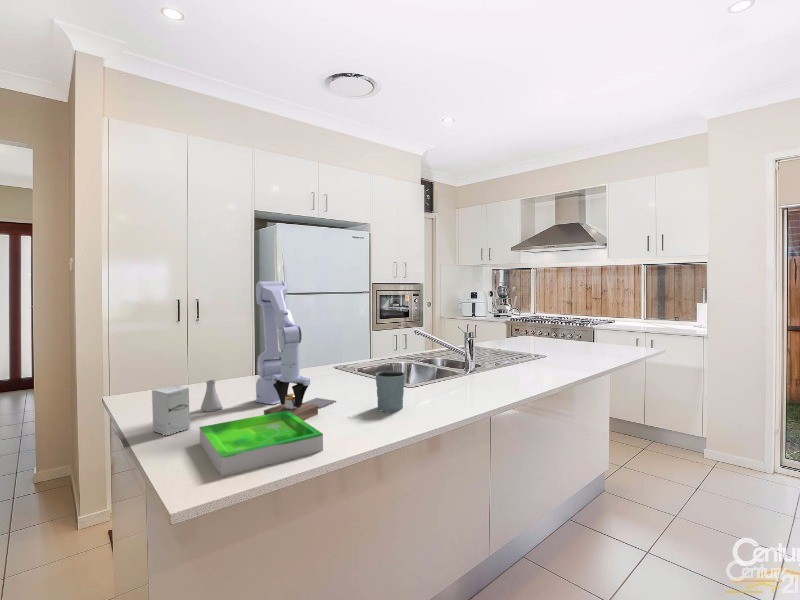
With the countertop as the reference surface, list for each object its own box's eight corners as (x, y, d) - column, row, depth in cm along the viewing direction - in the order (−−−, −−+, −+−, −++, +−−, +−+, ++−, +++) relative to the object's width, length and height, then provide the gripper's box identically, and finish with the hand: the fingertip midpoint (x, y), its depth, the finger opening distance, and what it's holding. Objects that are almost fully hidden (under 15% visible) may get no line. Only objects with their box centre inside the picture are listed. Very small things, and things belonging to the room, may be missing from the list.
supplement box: (166, 436, 124) (165, 393, 123) (152, 432, 128) (150, 389, 127) (190, 429, 130) (189, 387, 129) (176, 425, 134) (175, 384, 133)
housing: (264, 419, 138) (263, 410, 138) (290, 409, 149) (290, 400, 149) (292, 425, 132) (292, 415, 132) (317, 414, 143) (317, 405, 143)
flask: (226, 408, 150) (225, 380, 150) (205, 413, 145) (204, 384, 145) (217, 405, 155) (216, 377, 155) (196, 409, 150) (195, 381, 149)
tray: (200, 445, 119) (199, 427, 118) (288, 426, 133) (287, 410, 133) (221, 478, 98) (221, 456, 98) (323, 452, 113) (322, 433, 112)
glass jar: (282, 417, 140) (282, 396, 139) (291, 414, 143) (290, 393, 143) (291, 419, 138) (291, 397, 138) (300, 416, 141) (300, 394, 141)
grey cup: (370, 408, 149) (369, 373, 149) (390, 402, 156) (390, 369, 156) (391, 414, 142) (390, 378, 142) (411, 407, 150) (411, 373, 149)
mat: (300, 405, 154) (300, 404, 154) (316, 398, 162) (316, 397, 162) (320, 408, 150) (320, 407, 149) (336, 401, 157) (336, 400, 157)
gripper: (264, 363, 140) (265, 405, 140) (299, 367, 133) (300, 411, 133) (280, 360, 146) (281, 399, 147) (314, 363, 139) (314, 405, 140)
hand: (291, 405), depth 140 cm, fingers open, 6 cm apart
